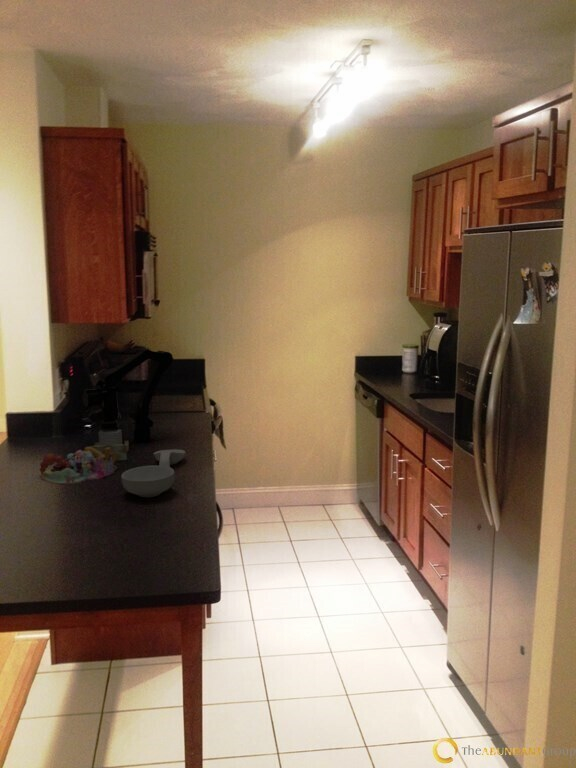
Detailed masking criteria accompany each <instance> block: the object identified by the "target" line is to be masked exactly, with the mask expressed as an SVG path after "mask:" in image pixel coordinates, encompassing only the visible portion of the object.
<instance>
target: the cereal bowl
mask: <svg viewBox="0 0 576 768" xmlns="http://www.w3.org/2000/svg"><path fill="white" fill-rule="evenodd" d="M174 481H175V470H174V469H173V468H172V467H170V468H169V467H166V466H159V465H143V466H137V467H133V468H130V469H128V470H127V469H126V470H125V471H124V472H123V473H122V474H121V483H122V486H123V488H124V489H125V490H126V491H127V493H128V492H129V493H131V494H132V495H135V496H136V495H137V496H138V497H140V498H152V497H157V496H159V495H161V494H162V493H164V492H166V491H168V490H169V489H170V488H171V487H172V485H173V484H174Z"/></svg>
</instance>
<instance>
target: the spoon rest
mask: <svg viewBox="0 0 576 768" xmlns="http://www.w3.org/2000/svg"><path fill="white" fill-rule="evenodd" d="M153 456H154V457H155V459H156V460H157V461H158V462H159V463H158V466H166V467H169V468H171V465H176V464H178V463H179V462H180V461H182V460H183V459H184V458H185V456H186V451H185V450H183V449H165V450H163V449H162V450H158V451H155V452H153Z"/></svg>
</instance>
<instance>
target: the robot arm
mask: <svg viewBox="0 0 576 768" xmlns="http://www.w3.org/2000/svg"><path fill="white" fill-rule="evenodd" d="M147 360H150V361H151V371H150V373H149V375H148V378H147V380H146V383H145V385H144V387H143V389H142V392H141V393H140V395H139V398H138V400H137V401H136V402H135V403H134V402H131V404H130V407H129V409H128V410H127V412H128V413H127V417H128V420H129V421H130V422H131V424H132V425H134V428H133V440H134V442H135V443H146V442H147V443H151V442H152V433H151V432H152V431H151V428H153V425H154V421H153V420H152V419H151V418H149V414H150V404H151V402H152V399H153V397H154V395H155V392H156V390H157V388H158V385H159V383H160V380H161V379H162V376H163V374H164V373H165V372H166V371H168V370H169V368H170V367H171V365H172V363H173V362H174V357H173V354H172V353H171V352H169V351H165V350H157V351H153V350H150V349H149V348H148V349H147V348H141V349H140V350H138V352H137V353H134V355H132V356H131V357H129V358H128V359H126V360H125V361H124V362H122V363H121V364H119V365H118V366H116V367H112V368H108V369H107V370H104V371H103V372H101V373H100V374H99V378H98V379H99V380H97V382H96V384H95V386H94V388H85V389H84V392H83V394H82V403H83V405H84V407H86V408H88V407H93V406H100V405H101V404H102V407H101V408H100V409H98V410H95V411H93V412H90V413H89V414H88V418H89V421H90V422H91V423H96V421H99V420H102V422H101V424H100V426H101V427H100V428H101V430H103V429H116V430H119V427H120V421H118V420H121V417H122V416H121V415H122V414H121V413H120V412H119V403H118V392H122V391H123V389H122V388H121V387H120V386H119V383H120V382H121V381H122V380H123V378H124V377H125V376H126V375H128V373H130V372H131V371H133V370H134V369H136V368H137V367H139V366H140V365H142V364H143V363H144V362H146V361H147Z"/></svg>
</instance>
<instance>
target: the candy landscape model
mask: <svg viewBox="0 0 576 768" xmlns="http://www.w3.org/2000/svg"><path fill="white" fill-rule="evenodd" d="M90 446H91V445H90ZM90 446H85V447H84V450H82V449H79V450H76V451H75V452H74V453H68V454H67V456H66V459H65V460H64V459H63V456H61V455H57V456H55V455H54V454H53V453H46V454H45V455H44V456H43V458H42V461H41V462H40V465H39V466H40V468H39V471H40V478H41V479H42V480H44V481H46V482H48V483H51V484H57V485H75V483H76V484H79V483H82V481H83V482H85V481H94V479H95V480H101V479H104V478H106V477H108V476H109V477H111V476H112V475H113V474H115V471H116V470H117V469H118V467H117V466H116V465H114V464H115V463H116V461H115V460H116V457H117V452H115V453H110V452H111V448H110V447H106V448H104V454H102V453H101V452H100V451H97V450H96V449H95V448H93V447H90ZM55 463H56V464H55ZM52 465H53V466H52ZM49 466H52V468H49V469H48V470H46V469H47V468H48V467H49Z"/></svg>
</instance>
